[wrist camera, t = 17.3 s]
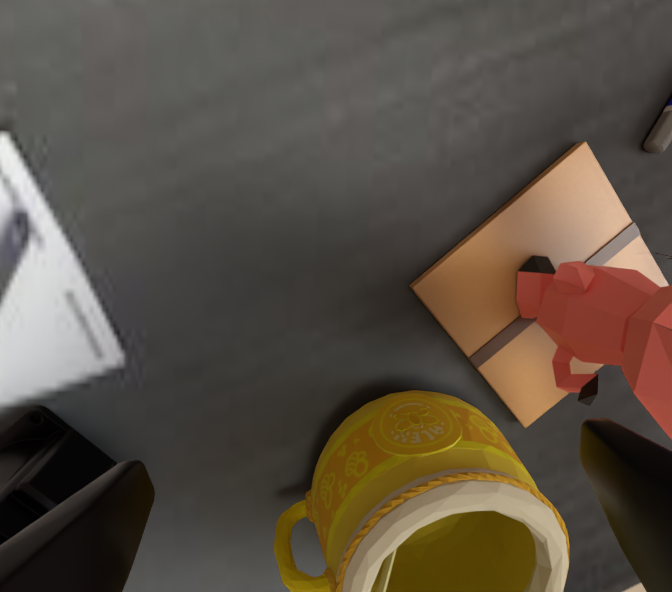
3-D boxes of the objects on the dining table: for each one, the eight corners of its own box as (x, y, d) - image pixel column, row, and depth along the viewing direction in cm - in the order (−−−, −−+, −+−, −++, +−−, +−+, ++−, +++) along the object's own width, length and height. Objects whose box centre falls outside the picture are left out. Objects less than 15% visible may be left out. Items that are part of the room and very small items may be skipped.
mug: (484, 356, 23) (702, 524, 11) (496, 518, 25) (679, 788, 14) (253, 405, 21) (223, 651, 10) (292, 569, 24) (305, 913, 13)
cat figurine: (634, 270, 22) (1039, 352, 10) (569, 381, 23) (867, 569, 11) (529, 213, 20) (863, 233, 9) (464, 335, 21) (684, 497, 10)
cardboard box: (519, 423, 24) (526, 429, 23) (408, 285, 21) (412, 288, 20) (670, 300, 23) (682, 303, 23) (577, 142, 20) (587, 140, 20)
